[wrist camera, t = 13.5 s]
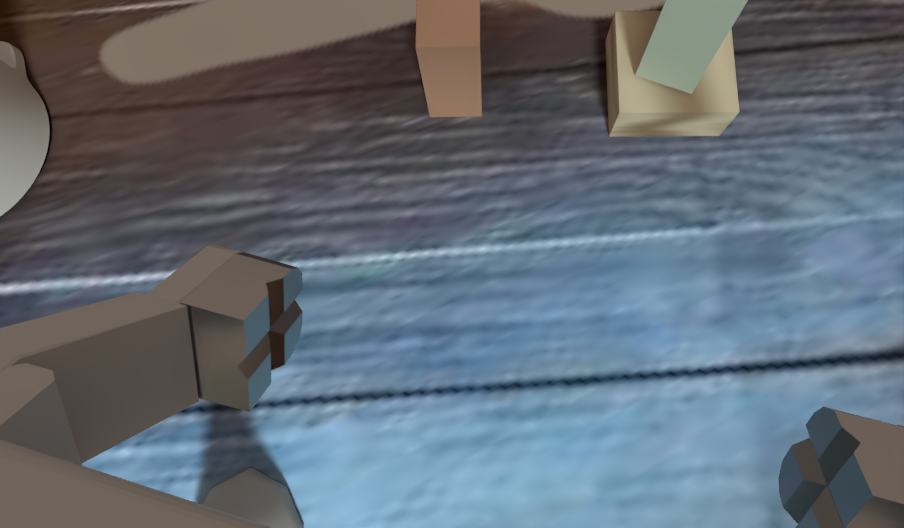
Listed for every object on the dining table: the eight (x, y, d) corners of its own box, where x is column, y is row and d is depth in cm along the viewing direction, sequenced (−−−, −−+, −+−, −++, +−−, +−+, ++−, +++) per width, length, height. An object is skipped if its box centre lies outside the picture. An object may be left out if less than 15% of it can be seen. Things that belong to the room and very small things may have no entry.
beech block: (608, 138, 44) (619, 112, 40) (604, 44, 46) (615, 11, 42) (716, 138, 44) (739, 111, 40) (708, 43, 45) (729, 9, 42)
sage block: (635, 75, 41) (675, -23, 32) (653, 29, 42) (697, -77, 33) (691, 94, 40) (748, -1, 31) (709, 47, 41) (768, -57, 32)
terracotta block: (429, 117, 45) (415, 47, 36) (430, 70, 46) (417, -8, 37) (481, 116, 45) (480, 45, 36) (481, 69, 46) (479, -11, 37)
